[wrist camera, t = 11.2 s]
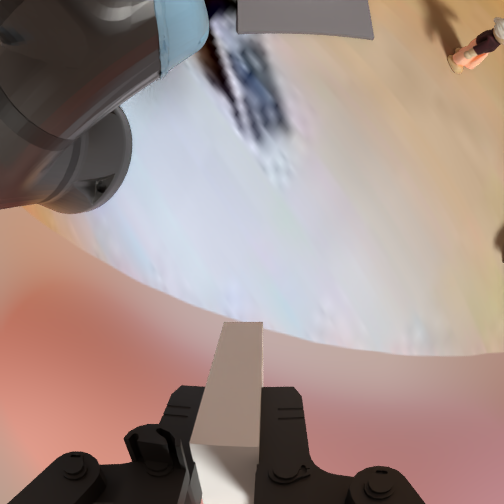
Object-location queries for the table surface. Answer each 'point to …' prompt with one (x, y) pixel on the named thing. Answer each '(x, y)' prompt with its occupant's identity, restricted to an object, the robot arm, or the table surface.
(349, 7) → the mat
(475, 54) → the grandmother figurine
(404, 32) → the table surface
